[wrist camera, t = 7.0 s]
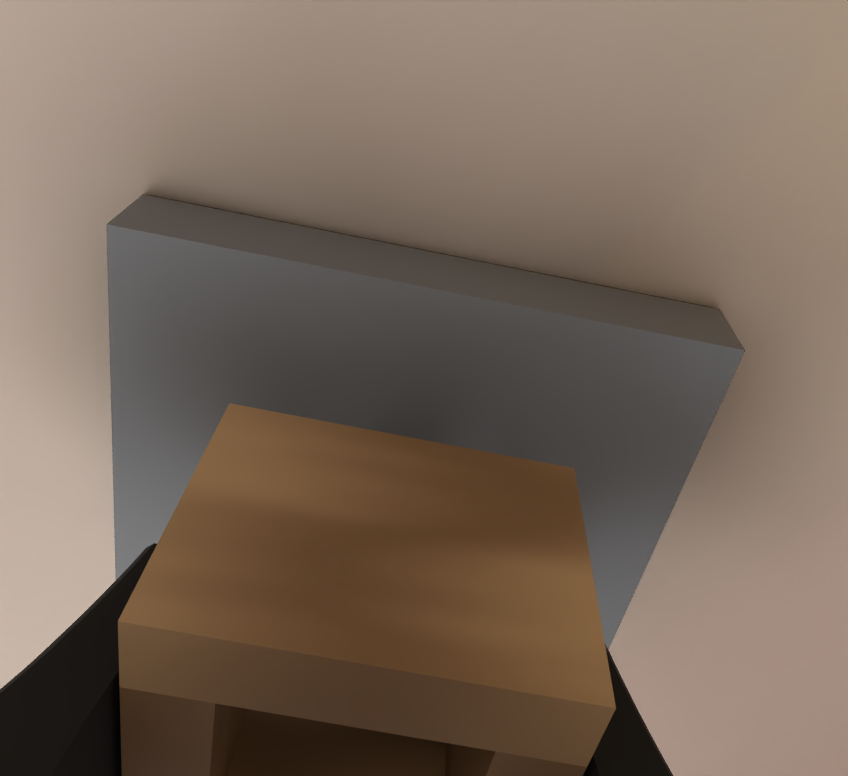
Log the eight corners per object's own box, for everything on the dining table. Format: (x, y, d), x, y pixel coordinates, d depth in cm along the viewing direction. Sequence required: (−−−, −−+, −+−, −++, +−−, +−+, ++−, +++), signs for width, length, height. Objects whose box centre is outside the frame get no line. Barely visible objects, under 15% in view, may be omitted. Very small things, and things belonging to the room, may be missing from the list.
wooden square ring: (574, 468, 11) (615, 708, 8) (494, 690, 14) (499, 944, 10) (229, 402, 11) (118, 621, 8) (213, 641, 14) (124, 884, 10)
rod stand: (719, 309, 14) (862, 541, 9) (585, 625, 18) (628, 908, 13) (143, 194, 13) (-67, 366, 8) (143, 545, 17) (4, 805, 12)
